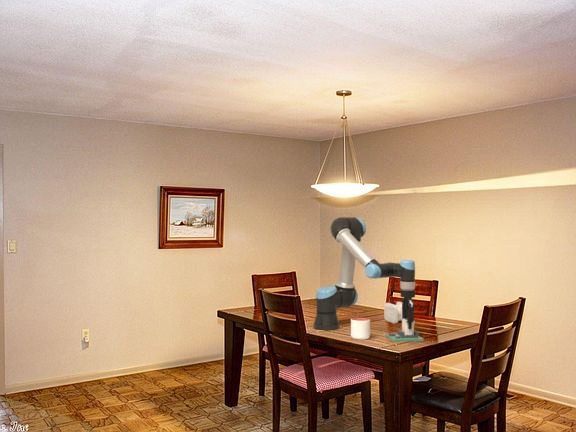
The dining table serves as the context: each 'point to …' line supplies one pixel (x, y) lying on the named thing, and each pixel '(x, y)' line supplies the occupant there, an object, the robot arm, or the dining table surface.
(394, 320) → the cable organizer
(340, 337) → the dining table surface
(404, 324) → the plug
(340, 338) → the dining table surface
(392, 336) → the board
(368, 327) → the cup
